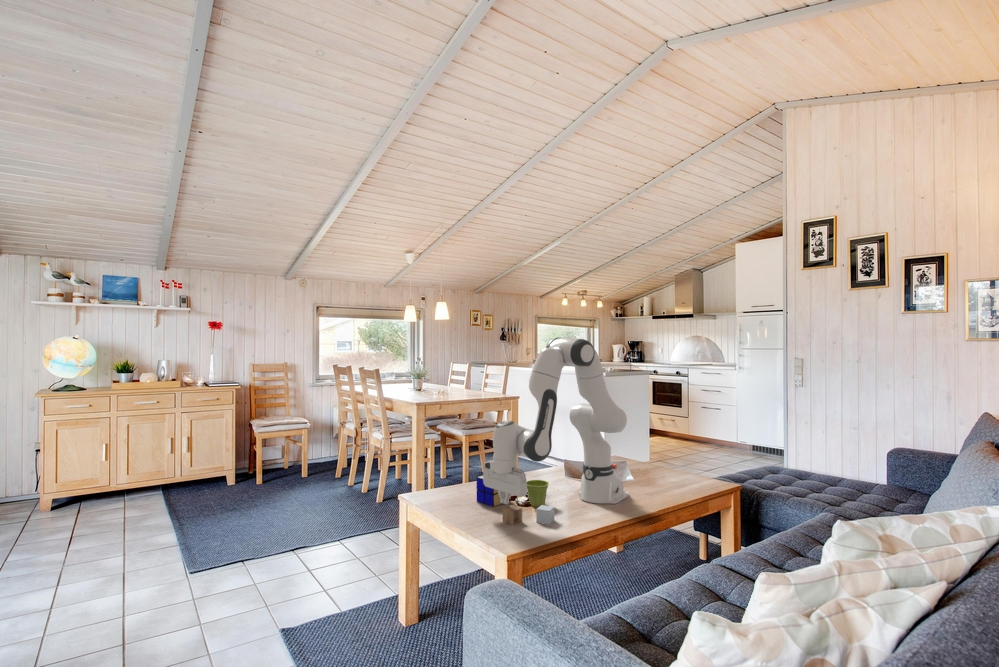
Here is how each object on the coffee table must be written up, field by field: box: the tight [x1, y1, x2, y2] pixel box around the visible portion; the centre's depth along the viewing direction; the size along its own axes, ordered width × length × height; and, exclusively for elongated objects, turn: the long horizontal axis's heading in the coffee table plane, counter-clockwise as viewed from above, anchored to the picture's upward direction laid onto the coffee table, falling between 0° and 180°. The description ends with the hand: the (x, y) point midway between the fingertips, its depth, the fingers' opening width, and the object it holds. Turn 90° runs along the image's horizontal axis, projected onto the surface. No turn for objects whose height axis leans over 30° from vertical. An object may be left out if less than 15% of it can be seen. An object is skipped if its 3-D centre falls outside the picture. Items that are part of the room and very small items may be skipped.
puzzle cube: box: [476, 475, 506, 508], centre depth 212 cm, size 10×10×10 cm
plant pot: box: [526, 479, 550, 508], centre depth 208 cm, size 9×9×9 cm
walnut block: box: [502, 504, 523, 526], centre depth 189 cm, size 5×5×5 cm
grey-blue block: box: [536, 504, 555, 526], centre depth 189 cm, size 5×5×5 cm
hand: (504, 503), depth 192 cm, fingers closed
